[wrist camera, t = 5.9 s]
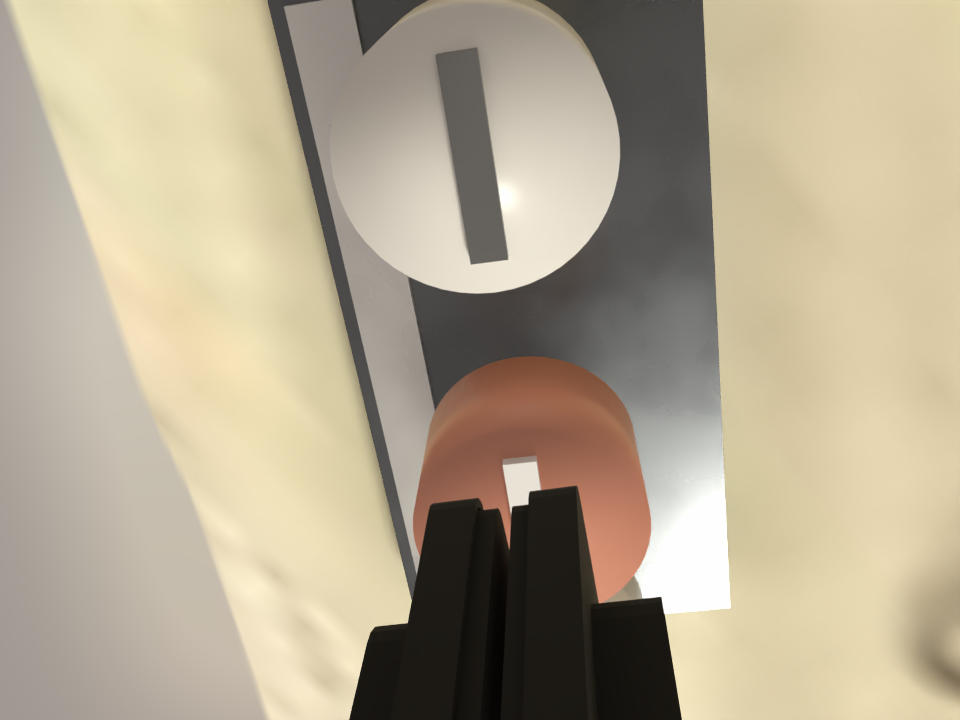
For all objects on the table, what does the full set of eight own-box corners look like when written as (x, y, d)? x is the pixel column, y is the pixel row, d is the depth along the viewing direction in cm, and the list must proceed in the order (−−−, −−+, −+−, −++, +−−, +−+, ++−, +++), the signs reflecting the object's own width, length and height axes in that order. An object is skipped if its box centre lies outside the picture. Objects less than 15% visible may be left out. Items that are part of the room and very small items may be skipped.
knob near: (358, -4, 18) (297, 32, 13) (585, -41, 17) (606, -18, 13) (401, 212, 20) (360, 313, 15) (606, 184, 19) (632, 280, 15)
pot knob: (421, 321, 21) (389, 447, 16) (615, 297, 20) (643, 420, 16) (453, 481, 23) (434, 637, 18) (632, 463, 22) (660, 618, 18)
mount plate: (274, -65, 23) (250, -61, 21) (682, -136, 22) (698, -139, 20) (425, 593, 32) (419, 639, 30) (718, 567, 31) (731, 612, 29)
